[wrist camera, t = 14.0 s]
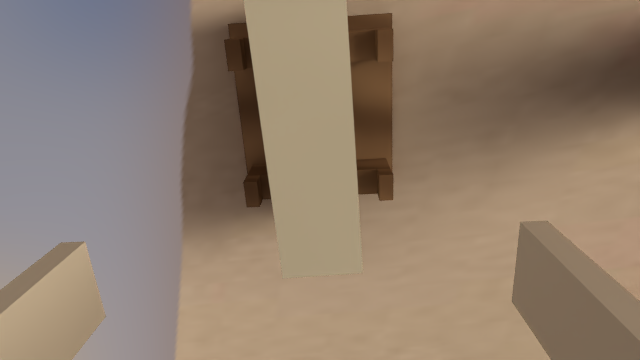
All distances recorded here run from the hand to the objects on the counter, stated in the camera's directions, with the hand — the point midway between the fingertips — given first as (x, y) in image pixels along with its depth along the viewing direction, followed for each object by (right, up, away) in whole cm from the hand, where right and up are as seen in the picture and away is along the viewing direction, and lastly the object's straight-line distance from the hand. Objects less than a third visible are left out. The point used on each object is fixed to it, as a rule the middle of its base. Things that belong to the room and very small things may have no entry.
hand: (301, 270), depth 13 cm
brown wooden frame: (0, +8, +21) cm, 23 cm away
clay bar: (0, +7, +18) cm, 19 cm away
